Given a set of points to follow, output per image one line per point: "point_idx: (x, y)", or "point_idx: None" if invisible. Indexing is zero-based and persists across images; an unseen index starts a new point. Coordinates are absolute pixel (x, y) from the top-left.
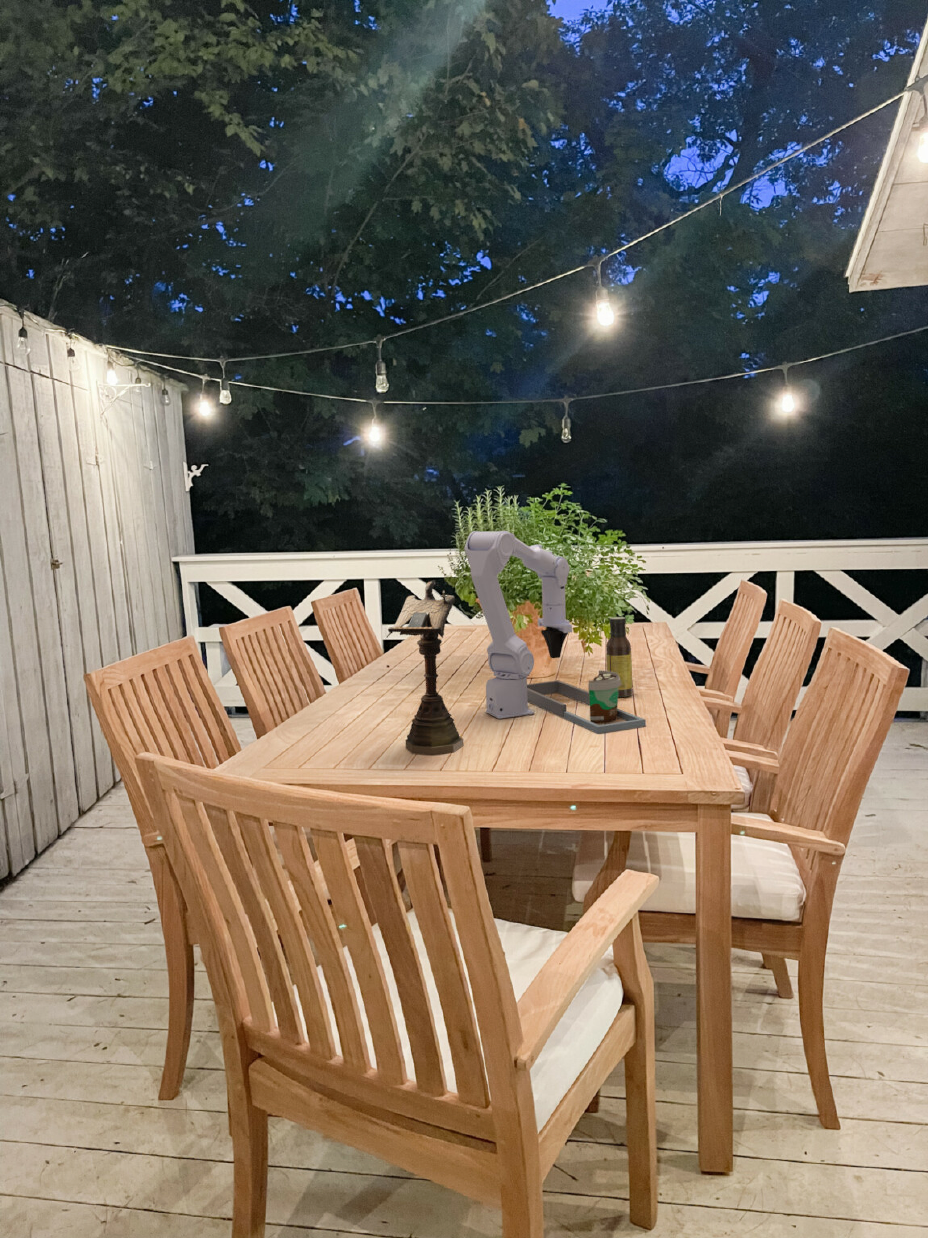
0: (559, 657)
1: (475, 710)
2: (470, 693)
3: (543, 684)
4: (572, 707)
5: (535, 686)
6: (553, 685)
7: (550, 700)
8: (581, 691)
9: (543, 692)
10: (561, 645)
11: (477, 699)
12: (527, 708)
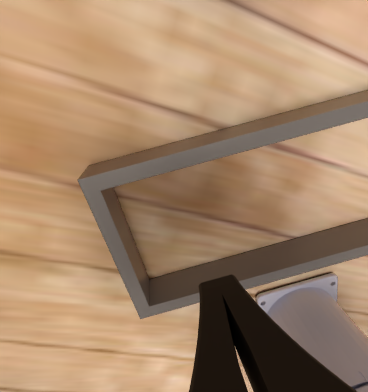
0: (235, 277)
1: (240, 367)
2: (69, 379)
3: (122, 240)
4: (317, 172)
5: (134, 264)
6: (109, 199)
7: (359, 255)
8: (298, 135)
9: (126, 225)
10: (288, 345)
11: (140, 366)
12: (323, 293)
